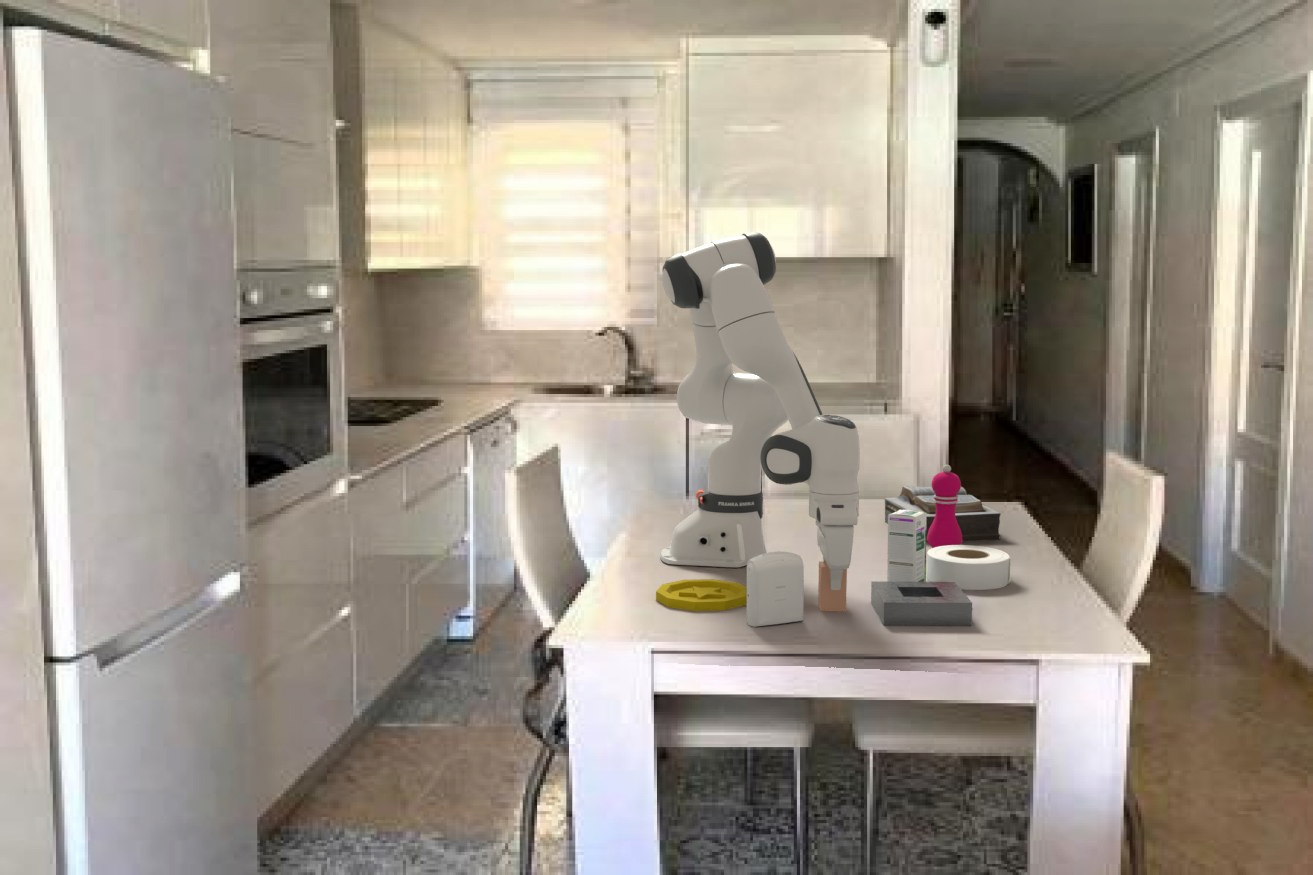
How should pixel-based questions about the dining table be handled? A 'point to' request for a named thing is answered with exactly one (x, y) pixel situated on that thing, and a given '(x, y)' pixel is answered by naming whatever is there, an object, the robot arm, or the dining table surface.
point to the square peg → (831, 591)
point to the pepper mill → (945, 510)
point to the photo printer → (775, 589)
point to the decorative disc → (702, 595)
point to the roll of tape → (969, 566)
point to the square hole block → (921, 603)
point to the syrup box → (907, 546)
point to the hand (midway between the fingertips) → (832, 582)
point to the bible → (969, 512)
